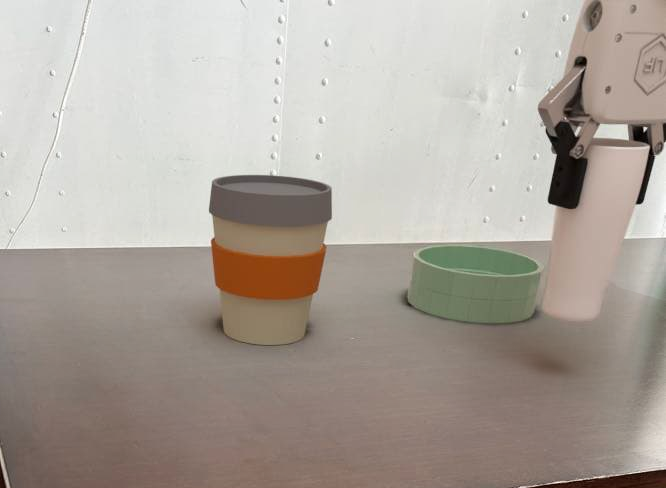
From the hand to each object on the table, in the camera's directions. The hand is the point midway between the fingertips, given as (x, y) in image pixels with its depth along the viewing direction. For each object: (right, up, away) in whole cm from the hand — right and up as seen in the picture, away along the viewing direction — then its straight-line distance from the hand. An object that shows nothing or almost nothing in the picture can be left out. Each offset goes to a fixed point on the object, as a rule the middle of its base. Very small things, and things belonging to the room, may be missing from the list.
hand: (595, 202), depth 72 cm
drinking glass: (0, -9, +6) cm, 10 cm away
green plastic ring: (-4, -1, +28) cm, 29 cm away
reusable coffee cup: (-29, -7, +17) cm, 35 cm away
